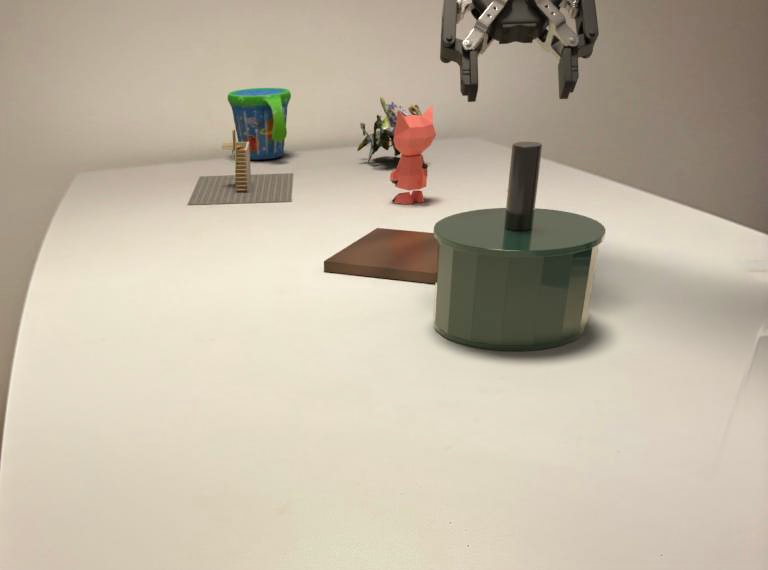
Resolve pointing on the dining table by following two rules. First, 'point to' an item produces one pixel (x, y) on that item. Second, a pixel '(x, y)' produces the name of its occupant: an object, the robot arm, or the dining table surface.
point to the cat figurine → (412, 154)
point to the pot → (512, 299)
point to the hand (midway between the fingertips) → (519, 94)
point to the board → (389, 256)
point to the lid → (520, 220)
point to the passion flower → (385, 128)
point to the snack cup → (261, 120)
